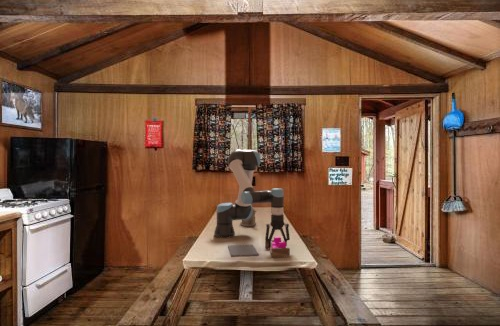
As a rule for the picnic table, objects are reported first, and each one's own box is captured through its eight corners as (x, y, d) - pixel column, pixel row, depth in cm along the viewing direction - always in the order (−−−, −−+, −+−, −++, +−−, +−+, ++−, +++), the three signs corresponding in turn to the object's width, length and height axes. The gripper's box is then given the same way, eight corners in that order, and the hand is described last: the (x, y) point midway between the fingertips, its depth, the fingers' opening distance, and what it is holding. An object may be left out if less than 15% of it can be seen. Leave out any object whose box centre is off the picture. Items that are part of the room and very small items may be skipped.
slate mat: (228, 246, 210) (228, 245, 210) (252, 245, 212) (252, 244, 212) (231, 256, 188) (231, 255, 188) (258, 255, 190) (258, 254, 190)
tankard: (238, 223, 283) (238, 206, 283) (251, 222, 288) (251, 205, 288) (248, 228, 265) (248, 209, 265) (261, 227, 270) (262, 209, 270)
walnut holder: (265, 247, 207) (265, 240, 207) (280, 247, 208) (280, 239, 208) (272, 257, 186) (272, 249, 186) (289, 257, 187) (289, 248, 187)
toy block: (270, 248, 205) (270, 237, 205) (279, 248, 206) (279, 236, 206) (275, 256, 190) (275, 243, 190) (286, 255, 191) (286, 242, 191)
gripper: (262, 215, 191) (262, 254, 192) (295, 214, 195) (295, 253, 195) (259, 213, 199) (259, 251, 199) (291, 212, 202) (292, 249, 202)
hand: (277, 252), depth 197 cm, fingers open, 7 cm apart
